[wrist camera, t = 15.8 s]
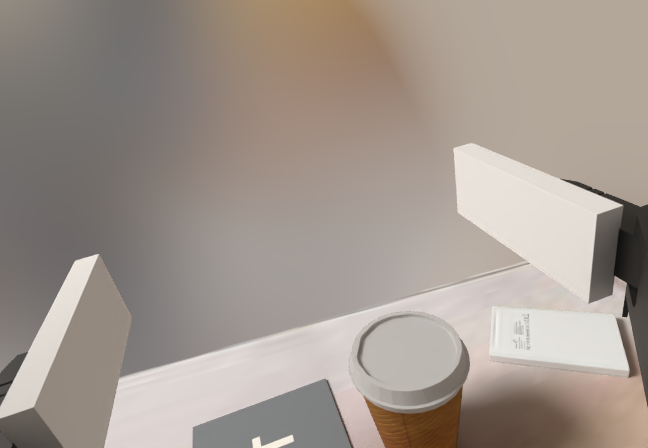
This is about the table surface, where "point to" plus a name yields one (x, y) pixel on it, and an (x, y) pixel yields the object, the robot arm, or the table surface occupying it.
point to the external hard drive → (558, 340)
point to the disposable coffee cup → (411, 378)
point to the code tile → (279, 423)
